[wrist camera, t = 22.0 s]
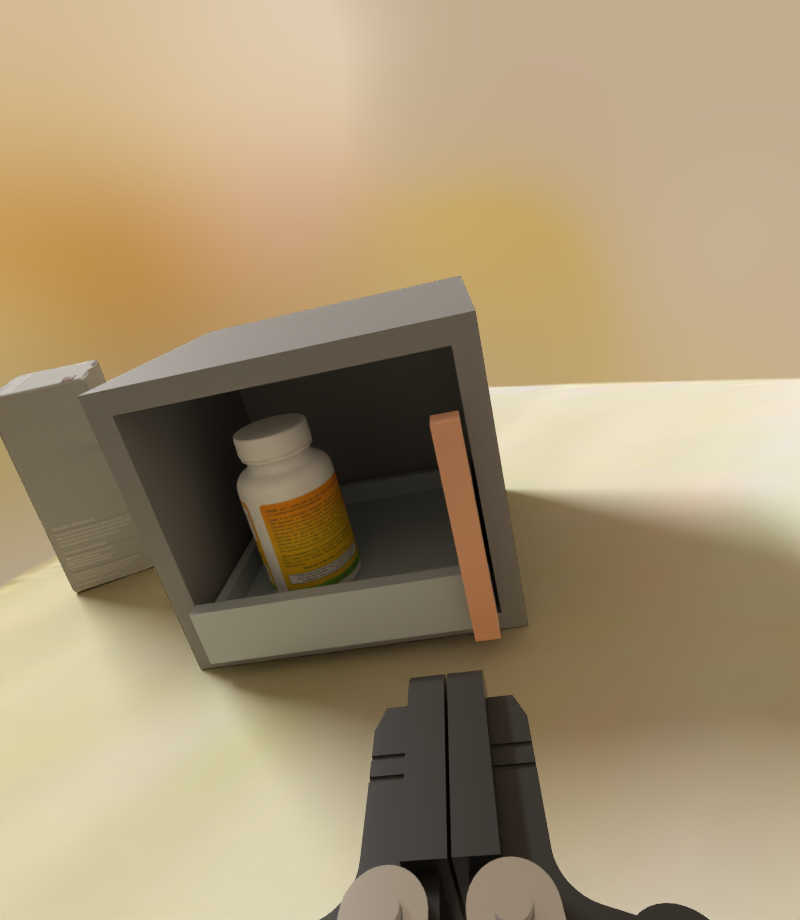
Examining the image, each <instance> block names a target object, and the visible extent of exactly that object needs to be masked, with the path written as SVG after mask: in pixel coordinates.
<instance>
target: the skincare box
mask: <svg viewBox="0 0 800 920" xmlns="http://www.w3.org/2000/svg"><path fill="white" fill-rule="evenodd" d="M103 383H106V381H105V378H104V375H103V373H102V370H101V368H100V365H99V363H98V361H97V360H91V361H87V362H83V363H78V364H74V365H69V366H64V367H60V368H54V369H49V370H44V371H39V372H34V373H29V374H25V375H22V376H19V377H16V378H14V379H13V380H12V381H10V382H9V383H7V384H6V385H5V386H4V387H2V388H1V389H0V436H1V438H2V440H3V442H4V444H5V447H6V449H7V451H8V453H9V455H10V457H11V459H12V462H13V464H14V465H15V468H16V470H17V472H18V474H19V476H20V479H21V481H22V483H23V485H24V487H25V489H26V491H27V493H28V495H29V498H30V500H31V502H32V504H33V506H34V508H35V510H36V512H37V514H38V517H39V519H40V521H41V523H42V525H43V527H44V529H45V531H46V533H47V536H48V538H49V540H50V542H51V544H52V546H53V548H54V550H55V553H56V555H57V557H58V559H59V561H60V563H61V565H62V568H63V570H64V572H65V574H66V576H67V578H68V580H69V582H70V584H71V586H72V589H73V590H74V591H75V592H80V591H83V590H86V589H89V588H92V587H95V586H98V585H100V584H103V583H106V582H109V581H112V580H115V579H118V578H121V577H125V576H128V575H131V574H133V573H137V572H139V571H142V570H145V569H148V568H150V567H153V566H154V565H153V562H152V560H151V558H150V556H149V554H148V551H147V549H146V547H145V545H144V543H143V540H142V538H141V536H140V534H139V532H138V529H137V527H136V525H135V523H134V520H133V518H132V516H131V514H130V512H129V509H128V507H127V505H126V503H125V501H124V498H123V496H122V494H121V492H120V490H119V487H118V485H117V483H116V481H115V478H114V476H113V474H112V472H111V470H110V467H109V465H108V463H107V461H106V459H105V456H104V454H103V452H102V450H101V448H100V445H99V443H98V441H97V439H96V437H95V434H94V432H93V430H92V428H91V425H90V423H89V421H88V419H87V417H86V414H85V412H84V410H83V408H82V406H81V403H80V401H79V399H78V397H77V396H79V395H81V394H83V393H85V392H87V391H89V390H91V389H93V388H95V387H97V386H99V385H101V384H103Z"/></svg>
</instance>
